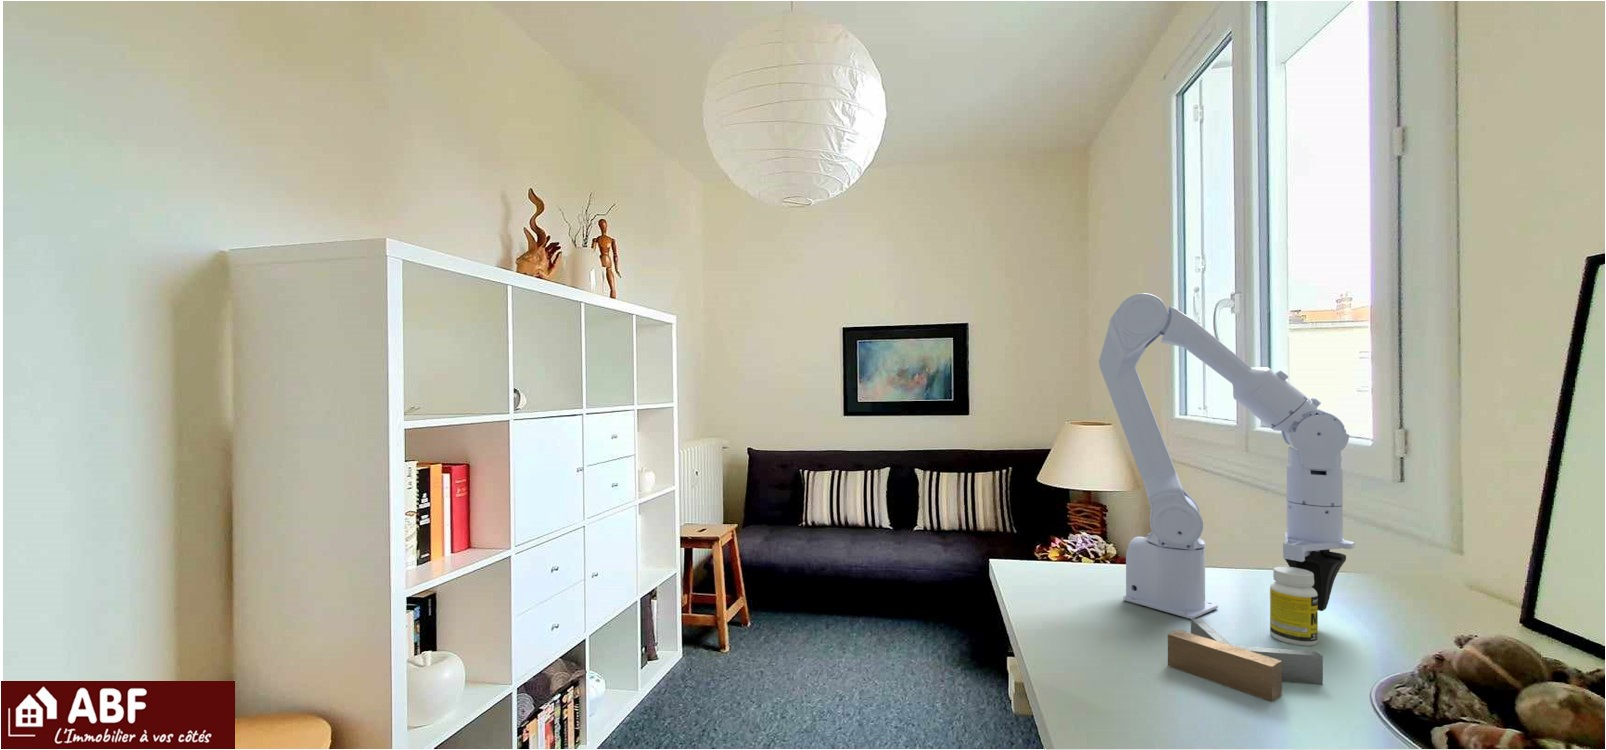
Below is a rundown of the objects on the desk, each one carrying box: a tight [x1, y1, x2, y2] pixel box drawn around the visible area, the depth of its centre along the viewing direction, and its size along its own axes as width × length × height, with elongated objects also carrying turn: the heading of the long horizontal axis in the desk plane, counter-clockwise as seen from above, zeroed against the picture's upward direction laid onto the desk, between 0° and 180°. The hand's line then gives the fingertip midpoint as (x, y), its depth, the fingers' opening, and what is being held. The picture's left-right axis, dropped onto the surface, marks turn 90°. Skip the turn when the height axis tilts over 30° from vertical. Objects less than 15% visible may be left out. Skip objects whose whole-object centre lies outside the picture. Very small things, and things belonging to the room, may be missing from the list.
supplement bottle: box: [1269, 566, 1319, 647], centre depth 80 cm, size 5×5×8 cm
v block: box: [1167, 618, 1324, 703], centre depth 71 cm, size 13×10×4 cm
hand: (1314, 608), depth 84 cm, fingers closed
